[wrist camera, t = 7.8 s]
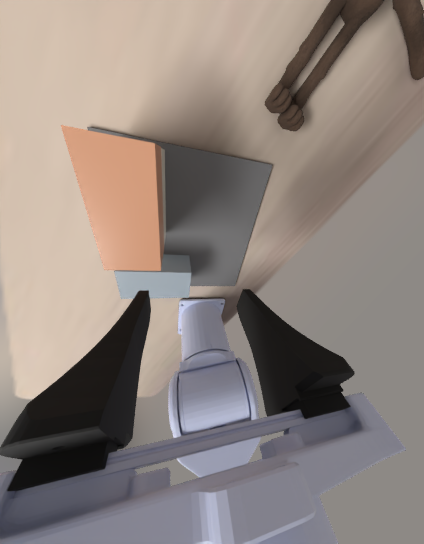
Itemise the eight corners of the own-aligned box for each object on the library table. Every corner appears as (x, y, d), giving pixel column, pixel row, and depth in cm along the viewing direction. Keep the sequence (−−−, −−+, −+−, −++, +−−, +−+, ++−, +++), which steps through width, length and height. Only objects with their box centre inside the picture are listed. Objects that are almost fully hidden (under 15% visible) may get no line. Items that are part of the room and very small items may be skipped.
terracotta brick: (164, 247, 16) (161, 270, 13) (120, 245, 15) (104, 269, 12) (160, 146, 11) (154, 143, 8) (96, 134, 10) (60, 125, 7)
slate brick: (189, 255, 21) (191, 272, 18) (187, 278, 24) (188, 297, 20) (124, 252, 19) (114, 271, 16) (129, 277, 22) (121, 298, 18)
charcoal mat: (234, 284, 26) (234, 285, 26) (123, 284, 23) (123, 286, 22) (271, 164, 17) (272, 164, 17) (88, 127, 13) (87, 126, 13)
